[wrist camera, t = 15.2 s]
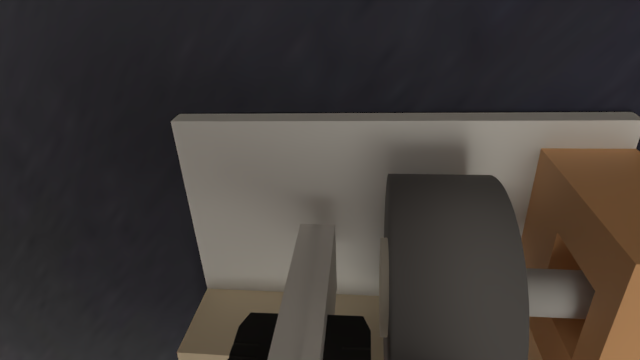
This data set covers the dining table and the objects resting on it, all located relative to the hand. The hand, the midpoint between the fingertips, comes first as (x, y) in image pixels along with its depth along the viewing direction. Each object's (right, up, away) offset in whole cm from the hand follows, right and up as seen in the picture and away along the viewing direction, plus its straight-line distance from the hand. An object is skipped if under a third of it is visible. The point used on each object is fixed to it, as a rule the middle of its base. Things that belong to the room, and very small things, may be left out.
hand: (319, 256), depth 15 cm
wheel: (+6, +1, +1) cm, 6 cm away
